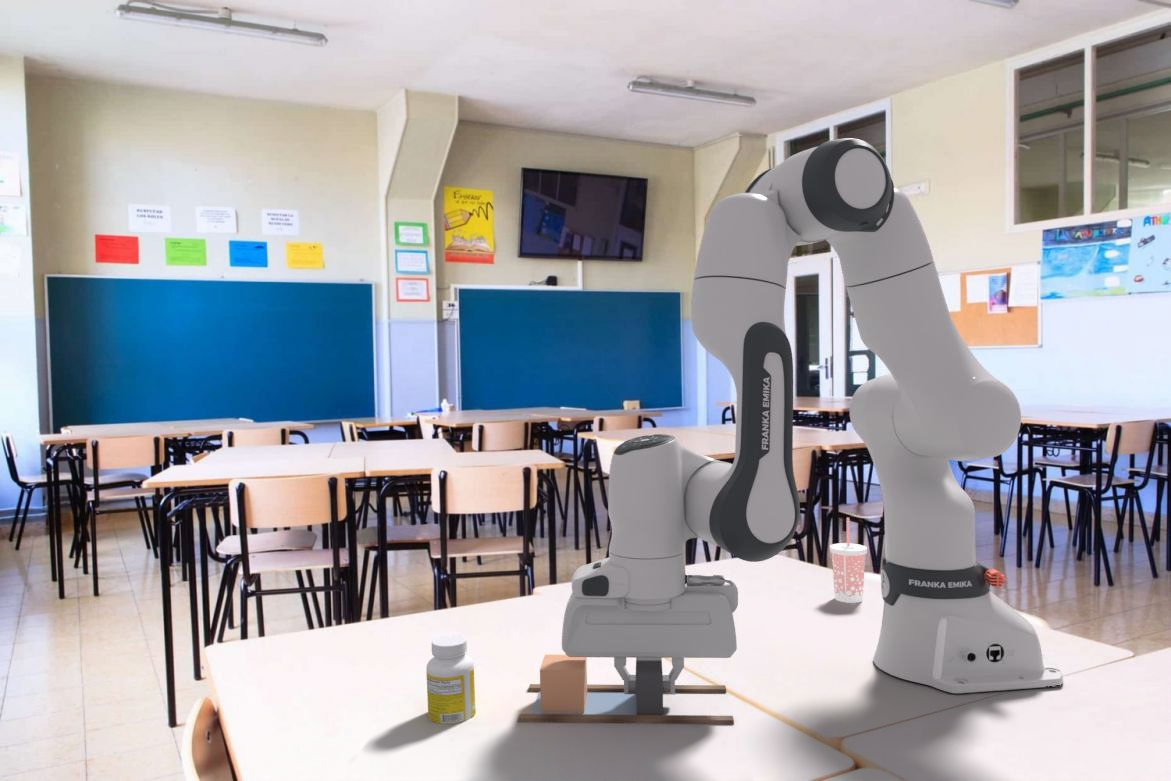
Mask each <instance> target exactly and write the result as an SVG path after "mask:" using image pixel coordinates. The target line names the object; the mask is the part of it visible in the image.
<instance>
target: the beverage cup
mask: <svg viewBox="0 0 1171 781" xmlns="http://www.w3.org/2000/svg"><path fill="white" fill-rule="evenodd" d="M850 530H851V528H850V517H846V542H842V543H840V542H838V543H832V544H830V545H829V551H830V553H831V561H832V562H831V563H832V576H833V577H832V578H833V590H834V591H833V592H834V599H835V600H836V601H838V602H842V603H848V604H857V603H861V602H863V601H864V599H863V598H864V586H865V584H864V583H865V568H866V554H867V553H868V547H867V546H866V545H862V544H860V543H859V544H857V543H851V541H850V539H851V538H850V536H851V533H850Z"/></svg>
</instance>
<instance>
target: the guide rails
mask: <svg viewBox="0 0 1171 781" xmlns="http://www.w3.org/2000/svg"><path fill="white" fill-rule="evenodd" d="M528 692H530V693H531V692H538V693H539V692H540V683H530V684H529V686H528ZM587 692H590V693H624V684H587ZM676 693H679V694H683V693H684V694H685V693H688V694H692V693H693V694H694V693H697V694H698V693H699V694H701V693H702V694H703V693H705V694H713V693H714V694H726V693H727V687H726V685H721V684H720V685H717V684H716V685H715V684H714V685H713V684H711V685H709V684H708V685H707V684H701V685H699V684H697V685H696V684H694V685H693V684H675V694H676ZM517 722H518V723H545V724H546V723H549V724H550V723H551V724H552V723H561V724H562V723H564V724H565V723H568V724H575V723H576V724H654V725H655V724H658V725H659V724H663V725H665V724H666V725H671V724H672V725H693V724H694V725H735V719H734V716H733V715H704V714H703V715H698V714H697V715H696V714H695V715H694V714H693V715H692V714H691V715H690V714H689V715H688V714H686V715H685V714H683V715H681V714H680V715H679V714H663V715H598V714H532V713H519V714H518V716H517Z"/></svg>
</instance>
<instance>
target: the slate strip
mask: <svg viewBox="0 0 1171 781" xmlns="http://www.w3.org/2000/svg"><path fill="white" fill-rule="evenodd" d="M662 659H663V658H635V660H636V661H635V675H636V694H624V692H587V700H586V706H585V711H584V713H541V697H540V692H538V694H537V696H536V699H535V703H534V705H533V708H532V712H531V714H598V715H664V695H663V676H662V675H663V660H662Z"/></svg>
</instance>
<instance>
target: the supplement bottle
mask: <svg viewBox="0 0 1171 781" xmlns="http://www.w3.org/2000/svg"><path fill="white" fill-rule="evenodd" d="M467 640H468V639H467V638H466V637H465V636H463V635H460V634H448V635H442V636H438V637H436V638H433V639H432V640H431V654H432V656H433V657H432V658H430V660H428V661H427V664H426V689H427V690H426V691H427V692H426V693H427V715H428V717H427V718H428V719H429V720H430V722H433V723H434V724H435V723H436V724H440V725H455V724H459V723H464V722H467V721H468V720H471V719H473V717H475V715H476V690H475V689H476V688H475V687H476V686H475V666H474V660H473V659H472V657H471V656H469V655H468V654H466V653H467V652H468V650H467V649H468V643H467Z"/></svg>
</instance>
